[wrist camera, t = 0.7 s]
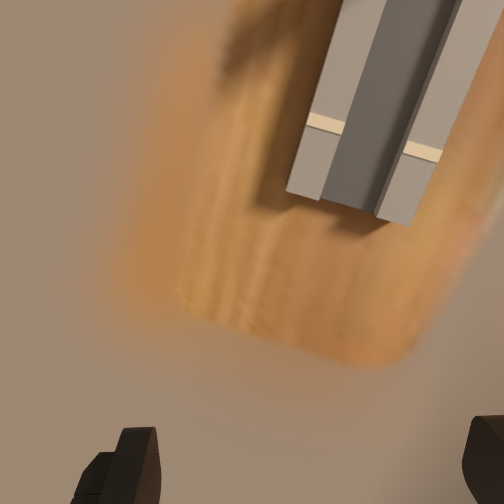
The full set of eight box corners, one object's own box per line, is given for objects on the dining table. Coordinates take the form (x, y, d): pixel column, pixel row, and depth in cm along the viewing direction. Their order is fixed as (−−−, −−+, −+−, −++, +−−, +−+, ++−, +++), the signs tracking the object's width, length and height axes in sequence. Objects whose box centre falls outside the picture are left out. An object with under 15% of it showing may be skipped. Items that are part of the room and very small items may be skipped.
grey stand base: (412, -232, 22) (428, -277, 20) (567, -185, 22) (604, -225, 20) (286, 184, 31) (285, 191, 28) (399, 217, 31) (409, 227, 28)
